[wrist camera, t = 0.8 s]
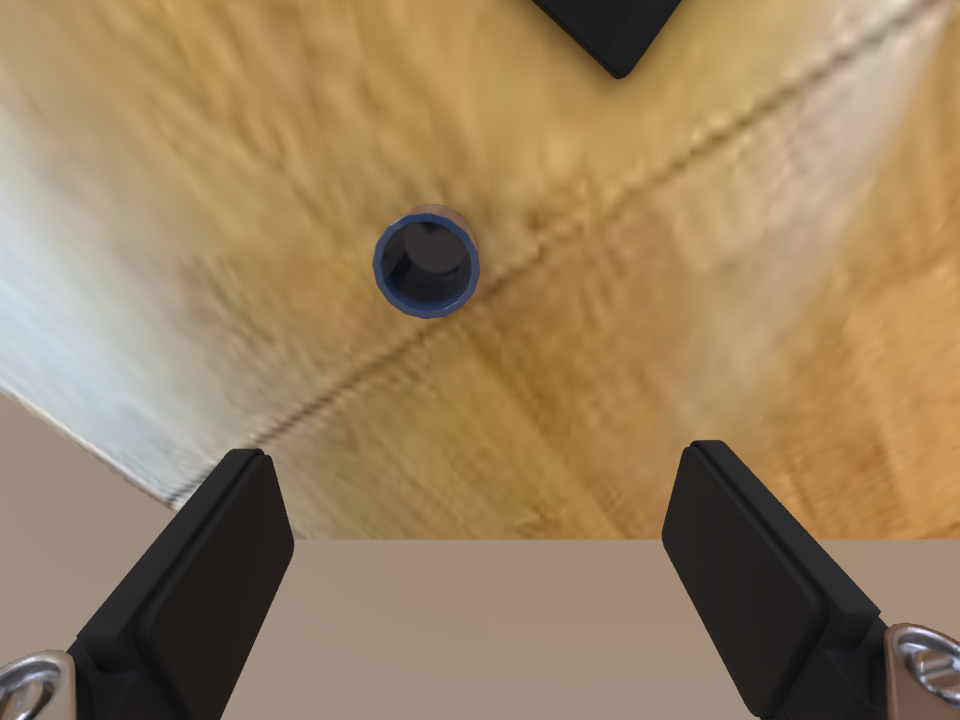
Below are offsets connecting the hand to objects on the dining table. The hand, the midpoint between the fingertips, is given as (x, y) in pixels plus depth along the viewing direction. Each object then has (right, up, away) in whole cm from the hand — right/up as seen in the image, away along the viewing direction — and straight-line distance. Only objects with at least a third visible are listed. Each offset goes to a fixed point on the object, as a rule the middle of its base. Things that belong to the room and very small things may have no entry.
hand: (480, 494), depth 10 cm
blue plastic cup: (-4, +11, +22) cm, 25 cm away
